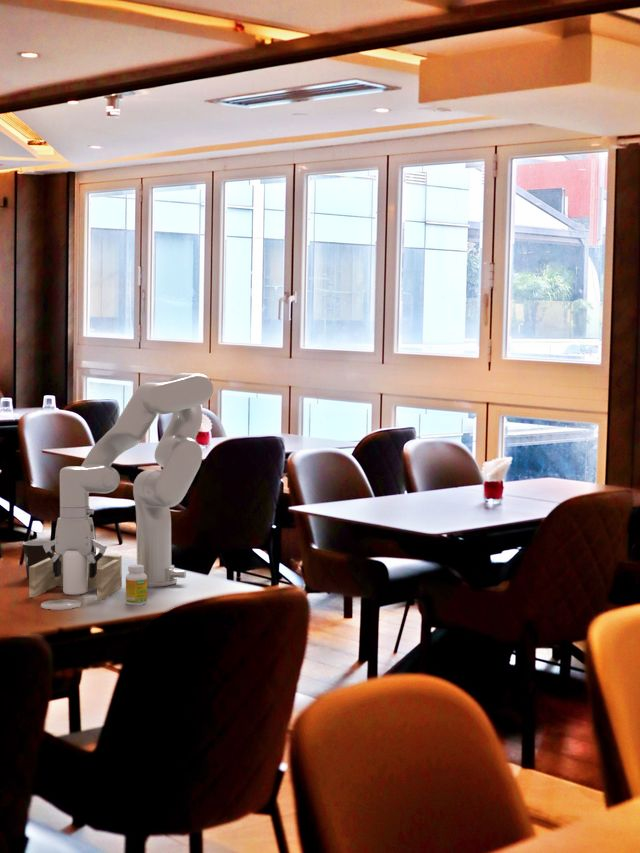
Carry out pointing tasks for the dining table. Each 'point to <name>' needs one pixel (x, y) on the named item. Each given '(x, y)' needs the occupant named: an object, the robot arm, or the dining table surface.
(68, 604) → the coaster
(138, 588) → the supplement bottle
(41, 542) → the coffee mug
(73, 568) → the can
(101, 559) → the wooden arch stand
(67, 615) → the dining table surface
